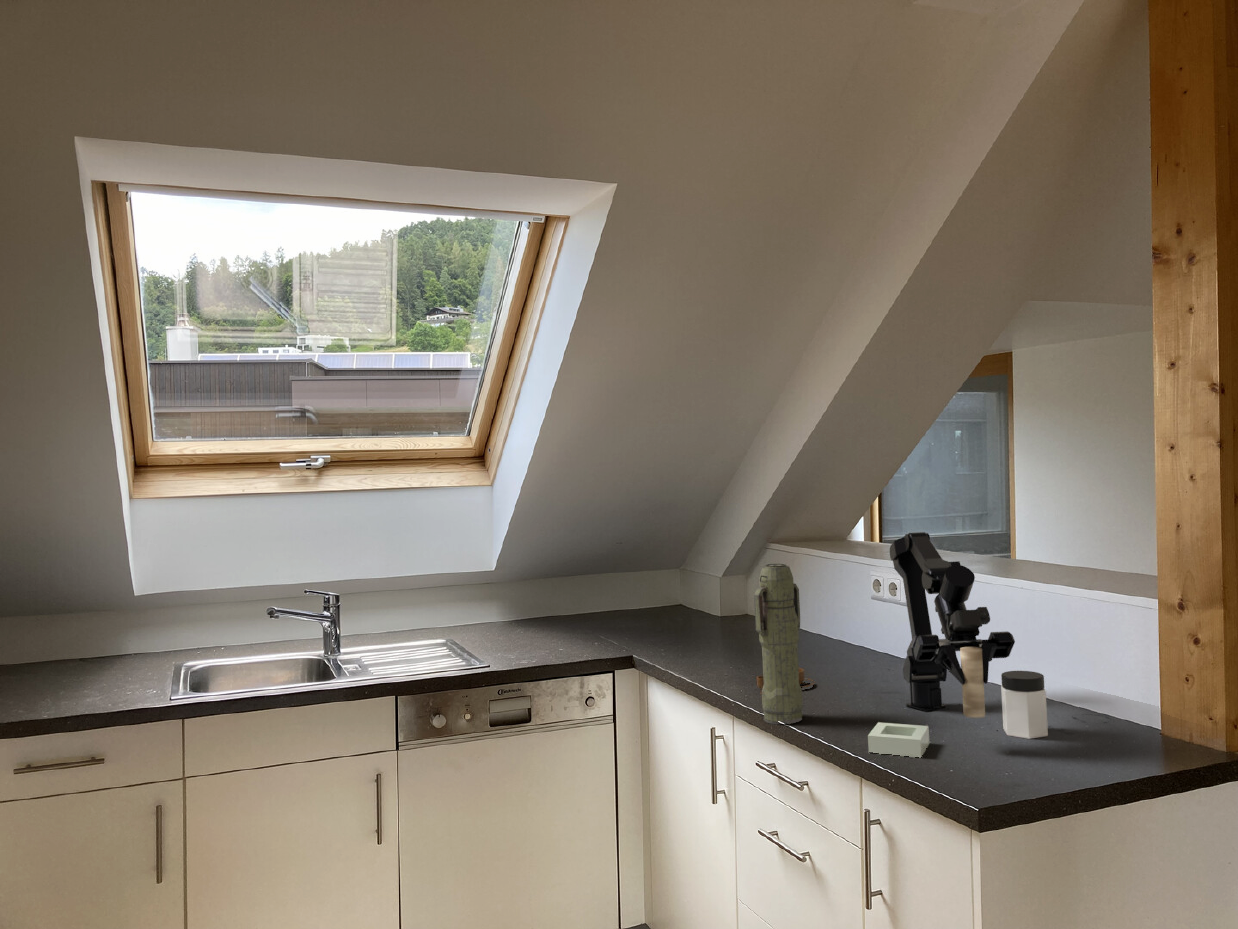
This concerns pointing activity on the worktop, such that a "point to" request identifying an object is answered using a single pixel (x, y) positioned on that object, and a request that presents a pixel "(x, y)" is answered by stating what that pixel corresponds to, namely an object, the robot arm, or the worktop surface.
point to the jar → (1024, 704)
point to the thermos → (779, 642)
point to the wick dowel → (973, 682)
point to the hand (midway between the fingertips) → (975, 683)
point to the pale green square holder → (899, 739)
